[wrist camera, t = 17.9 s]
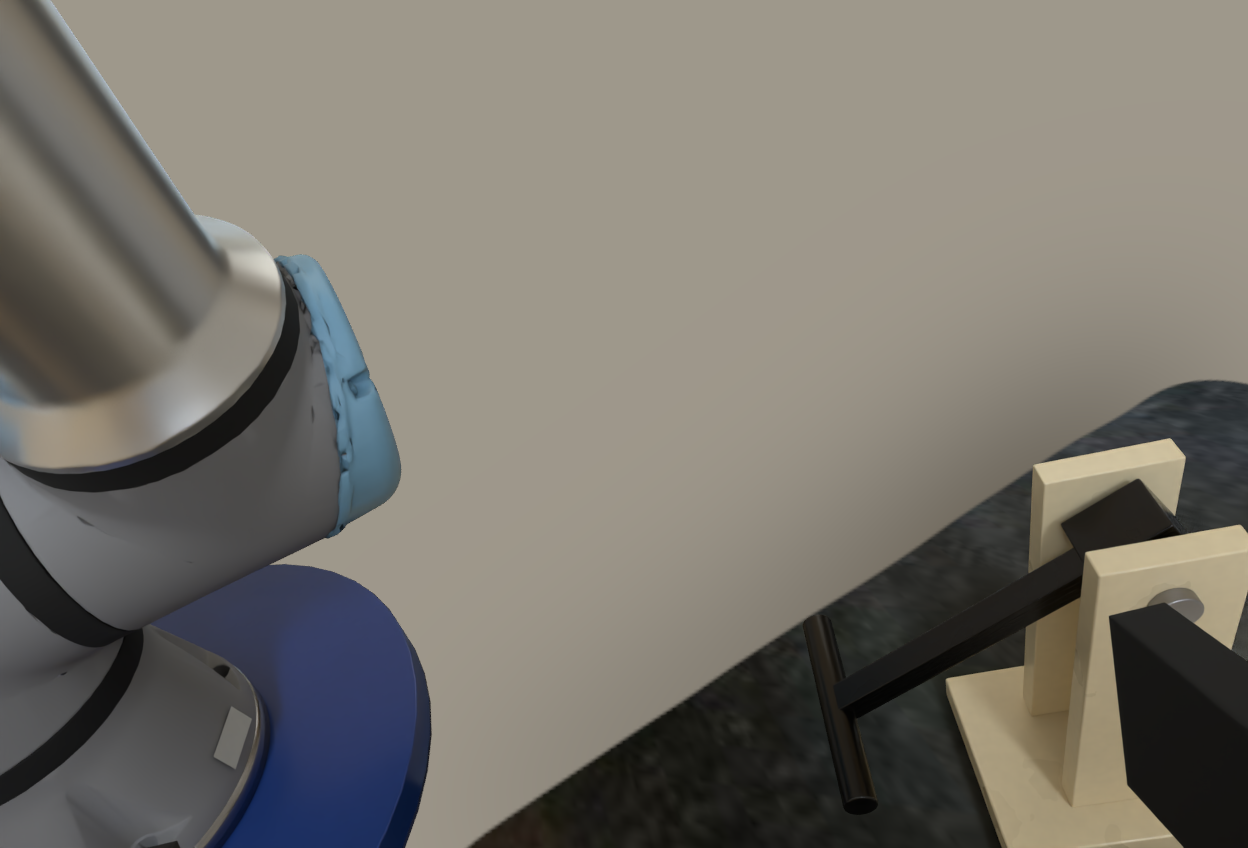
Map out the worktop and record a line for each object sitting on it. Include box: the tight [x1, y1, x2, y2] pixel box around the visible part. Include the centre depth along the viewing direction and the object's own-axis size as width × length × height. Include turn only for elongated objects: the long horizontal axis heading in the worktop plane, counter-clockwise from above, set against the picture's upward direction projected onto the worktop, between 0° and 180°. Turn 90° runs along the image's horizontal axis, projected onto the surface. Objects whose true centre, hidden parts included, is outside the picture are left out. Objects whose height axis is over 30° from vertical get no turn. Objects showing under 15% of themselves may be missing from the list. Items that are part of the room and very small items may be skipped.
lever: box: [803, 479, 1188, 815], centre depth 31 cm, size 14×8×2 cm, turn 89°
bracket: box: [946, 439, 1248, 848], centre depth 31 cm, size 10×8×15 cm
